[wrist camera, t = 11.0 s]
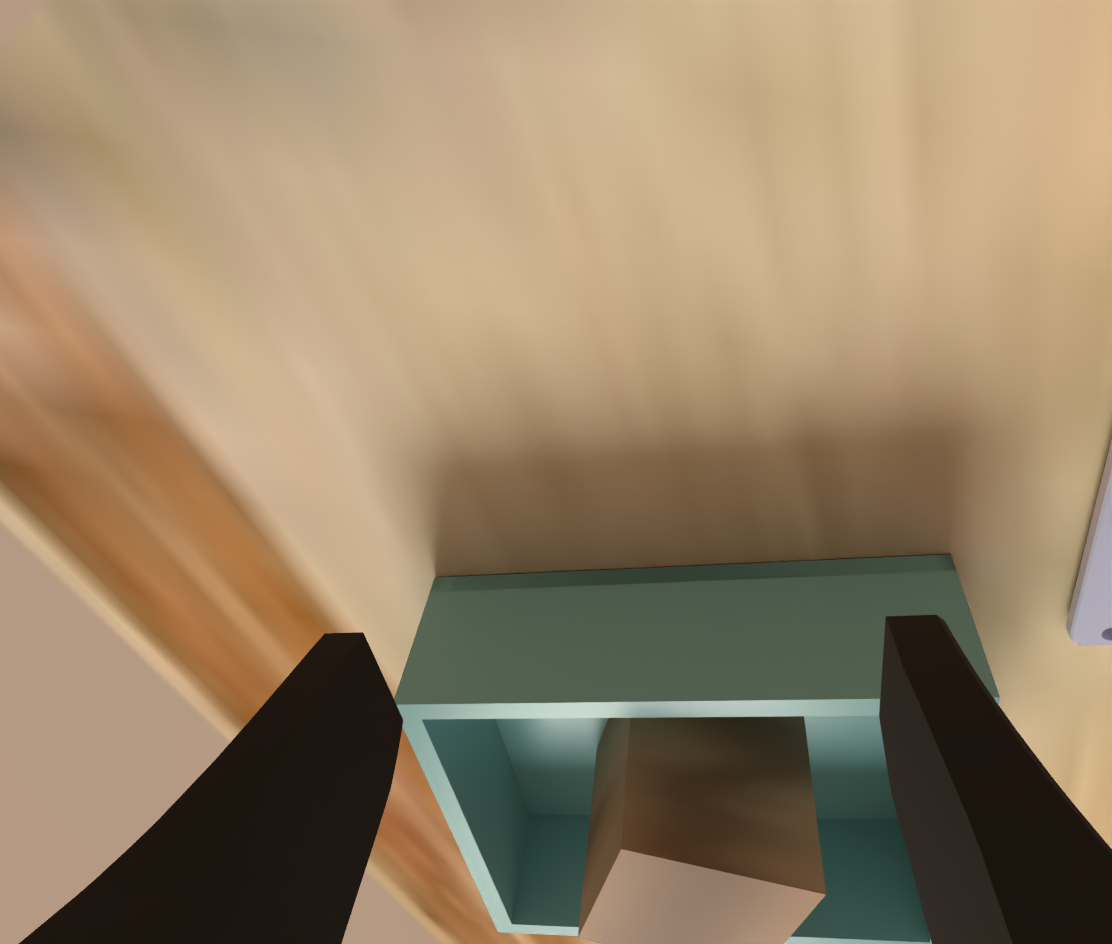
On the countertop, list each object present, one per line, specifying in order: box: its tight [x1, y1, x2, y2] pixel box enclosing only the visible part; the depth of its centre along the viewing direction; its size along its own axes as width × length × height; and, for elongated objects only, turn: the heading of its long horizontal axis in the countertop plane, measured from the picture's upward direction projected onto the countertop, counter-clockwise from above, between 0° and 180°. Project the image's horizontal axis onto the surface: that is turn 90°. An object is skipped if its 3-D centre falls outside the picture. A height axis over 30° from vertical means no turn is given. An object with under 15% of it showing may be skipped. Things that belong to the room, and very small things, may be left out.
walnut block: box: [578, 716, 826, 944], centre depth 24 cm, size 5×5×6 cm
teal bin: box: [394, 554, 1000, 944], centre depth 25 cm, size 14×12×4 cm
